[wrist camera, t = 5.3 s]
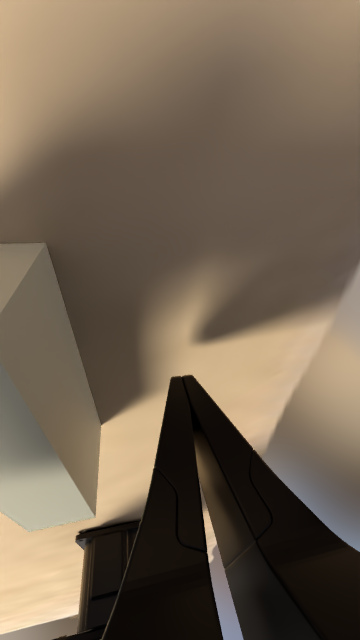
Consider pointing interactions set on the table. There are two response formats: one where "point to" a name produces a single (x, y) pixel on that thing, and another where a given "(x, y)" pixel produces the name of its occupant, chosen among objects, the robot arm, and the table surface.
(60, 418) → the t block
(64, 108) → the table surface
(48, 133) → the table surface
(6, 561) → the table surface
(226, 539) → the robot arm
